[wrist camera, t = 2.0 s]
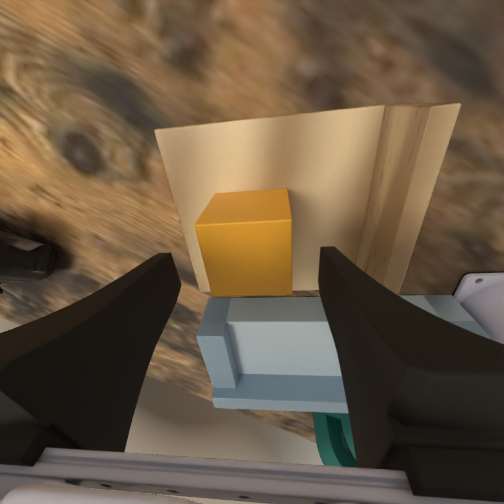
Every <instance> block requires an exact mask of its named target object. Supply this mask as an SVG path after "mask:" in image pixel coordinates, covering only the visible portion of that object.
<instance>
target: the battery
mask: <svg viewBox="0 0 504 504" xmlns="http://www.w3.org/2000/svg"><path fill="white" fill-rule="evenodd" d="M55 265H56V254H55V253H54V252H53V251H52V249H51V246H50V245H47V244H43V243H40V242H37V241H33V240H30V239H27V238H24V237H20V236H17V235H14V234H11V233H7V232H4V231H1V230H0V284H1V283H20V282H30V281H38V280H42V279H43V278H46V277H48V276H50V275H51V274H52V272H53V271H54V269H55ZM2 293H3V290H2V289H1V287H0V294H2Z"/></svg>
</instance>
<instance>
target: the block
mask: <svg viewBox="0 0 504 504" xmlns="http://www.w3.org/2000/svg"><path fill="white" fill-rule="evenodd" d="M194 227H195V231H196V235H197V239H198V243H199V247H200V251H201V255H202V259H203V263H204V267H205V271H206V274H207V278H208V282H209V286H210V290H211V294H212V296H261V295H292V216H291V210H290V204H289V197H288V191H287V189H286V188H285V189H270V190H255V191H241V192H226V193H215V194H214V195H213V197H212V198H211V200H210V201H209V203H208V204H207V206H206V207H205V209H204V210H203V212H202V214H201V215H200V217H199V218H198V220H197V221H196V223H195V224H194Z"/></svg>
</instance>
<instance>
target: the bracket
mask: <svg viewBox="0 0 504 504" xmlns="http://www.w3.org/2000/svg"><path fill="white" fill-rule="evenodd" d="M313 419H314V427H315V435H316V443H317V447H318V451H319V454H320V457H321V459H322V462H323V464H324V466H340V467H355V468H357V462H356V455H355V449H354V443H353V437H352V430H351V425H350V419H349V413H327V412H313Z"/></svg>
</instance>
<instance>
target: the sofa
mask: <svg viewBox="0 0 504 504" xmlns="http://www.w3.org/2000/svg"><path fill="white" fill-rule="evenodd" d="M399 296H400V297H402V298H404V299H405V300H407V301H409V302H411V303H412V304H414V305H416V306H418V307H420V308H422V309H424V310H426V311H428V312H430V313H431V314H433V315H436V316H438V317H440V318H442V319H444V320H446V321H448V322H450V323H453V324H455V325H457V326H460V327H462V328H464V329H466V330H469V331H471V332H473V333H476V334H478V335H481V336H483V337H486V338H489V339H491V337H490V336H489V335H488V334H487V333H486V332H485V331H484V329H483V328H482V327H481V326H480V325H479V324H478V323H477V322H476V321H475V320H474V319H473V318H472V317H471V315H470V314H469V313H468V312H467V311H466V310H465V309H464V308H463V307H462V306H461V305H460V304H459V302H458V301H457V300H456V299H455V298H454V297H453V296H452V295H399ZM196 338H197V341H198V344H199V347H200V350H201V353H202V356H203V359H204V362H205V364H206V367H207V370H208V373H209V376H210V379H211V382H212V385H213V392H212V397H211V399H212V401H213V404H214V406H215V408H233V409H256V410H280V411H304V412H327V413H348V407H347V402H346V396H345V391H344V386H343V380H342V375H341V370H340V365H339V360H338V356H337V351H336V347H335V344H334V340H333V337H332V334H331V331H330V327H329V324H328V321H327V318H326V315H325V311H324V308H323V305H322V302H321V297H260V298H208V301H207V304H206V307H205V310H204V313H203V316H202V319H201V322H200V325H199V328H198V331H197V334H196Z"/></svg>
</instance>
